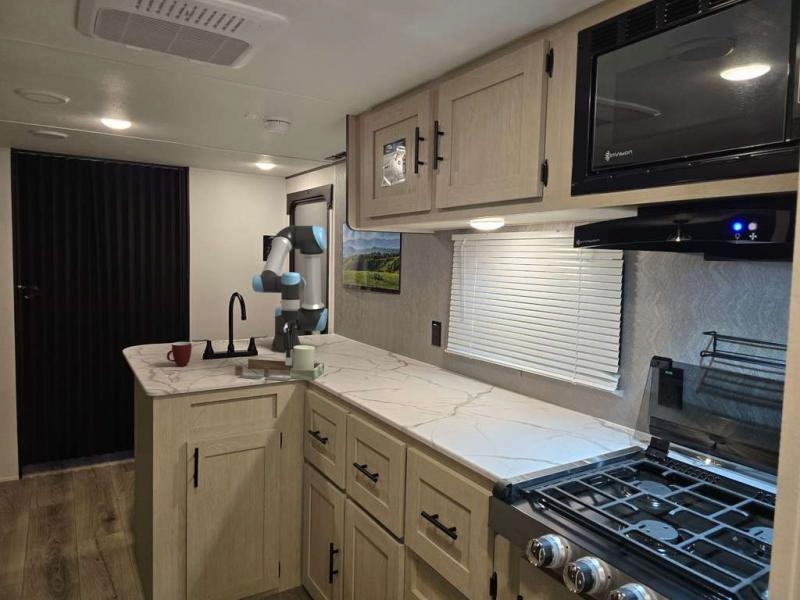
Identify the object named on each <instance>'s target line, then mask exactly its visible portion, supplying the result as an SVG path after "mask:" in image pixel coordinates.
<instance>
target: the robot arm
mask: <svg viewBox="0 0 800 600" xmlns="http://www.w3.org/2000/svg"><path fill="white" fill-rule="evenodd" d="M327 242H328V241H327V235H326V231H325V229H324V228H323V226H318V225H293V224H292V225H289V226H286V227H284V228H282V229H281V230H279V231H278V232H277V233H276V234H275V235H274V236H273V238H272V240H271V250H270V252H269V254H268V256H267V259H266V262H265V264H264V266H263V269H262V271H261V274H255V275H254V276H253V278H252V283H251V284H252V285H251V286H252V290H253V291H254V292H255V293H262V294H264V293H267V294H281V295H280V296H281V297H280V299H281V300H280V302H279V303H280V306H278V307H275V312H274V337H273V339H272V343H271V347H270V349H271V351H272V352H274V353H282V354H283V353H285V361H286V362H285V365H293V347H294V346H300V345H302V344H301V341H300V338H299V334H298V333H299V331H304V332H305V331H308V332H309V331H310V332H322V331H324V330H325V328H326V326H327V325H326V324H327V321H328V310H329V309H328V308H326V307H325V304H324V302H322V278H321V277H322V276H321V275H322V272H321V271H322V269H321V257H322V256H323V254H324V251H326V250H327V247H328V246H327V245H328V244H327ZM291 250H299V254H300V255H301V256H302V266H303V267H302V268H303V269H302V271H303V277H302V276H301V274H300V273H299V272H291V271H290V272H287V271H286V272H282V274H281V271H282V268H283V266H284V264H285V260H286V258H287V255H288V253H290V252H291ZM280 274H281V275H280ZM302 292H303V299H304V300H303V303H302V304H301V303H300V302H301V301H300V293H302ZM300 304H301V305H300ZM300 306H301V307H300Z"/></svg>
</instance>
